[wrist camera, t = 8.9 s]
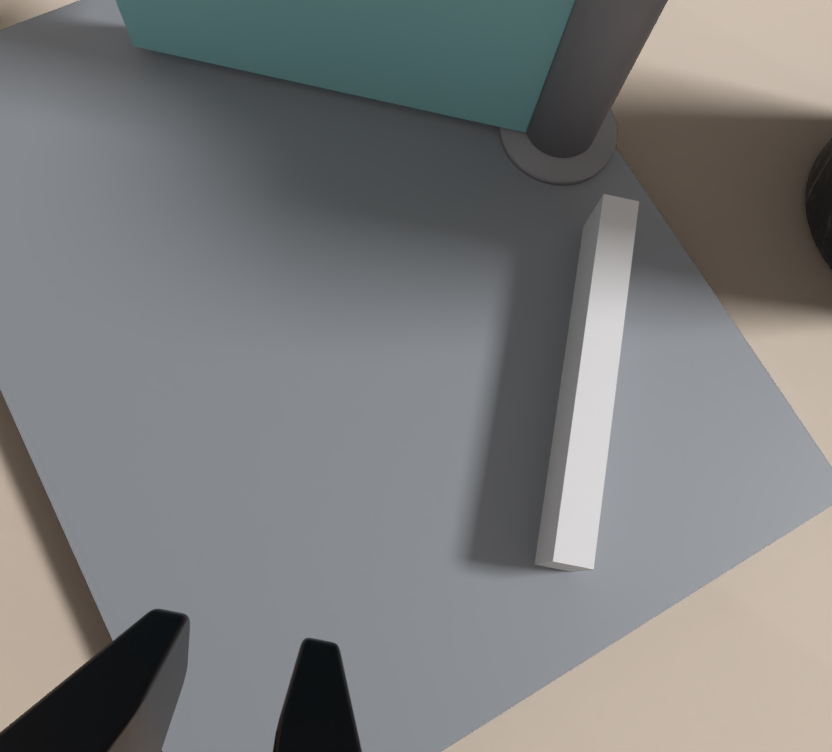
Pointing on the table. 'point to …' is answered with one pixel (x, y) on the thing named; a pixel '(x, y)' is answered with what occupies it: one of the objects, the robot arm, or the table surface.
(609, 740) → the table surface
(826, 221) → the travel mug
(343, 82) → the door
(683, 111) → the table surface
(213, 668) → the base board
